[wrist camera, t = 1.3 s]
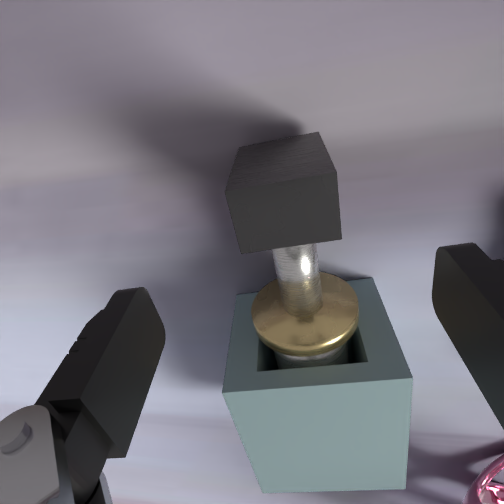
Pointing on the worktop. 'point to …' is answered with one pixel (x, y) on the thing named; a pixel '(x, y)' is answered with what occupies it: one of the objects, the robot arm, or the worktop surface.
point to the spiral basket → (487, 486)
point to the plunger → (293, 248)
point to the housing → (323, 407)
